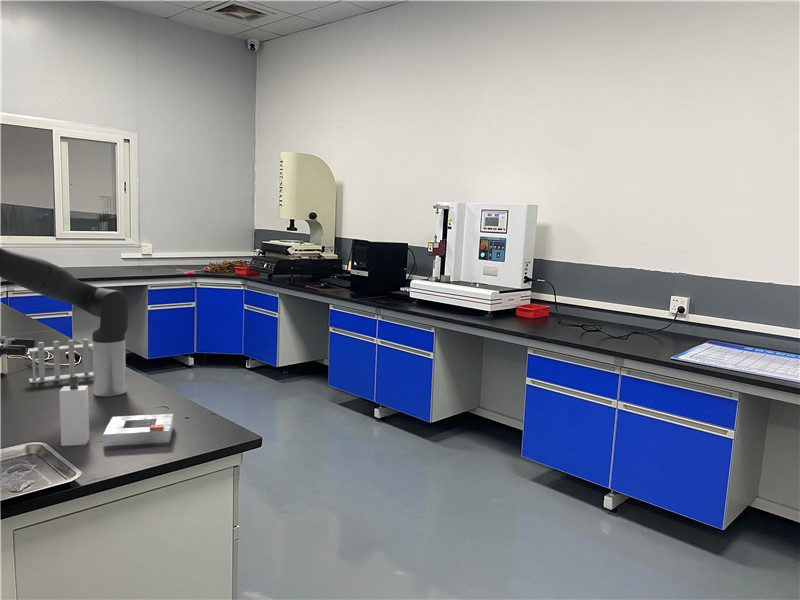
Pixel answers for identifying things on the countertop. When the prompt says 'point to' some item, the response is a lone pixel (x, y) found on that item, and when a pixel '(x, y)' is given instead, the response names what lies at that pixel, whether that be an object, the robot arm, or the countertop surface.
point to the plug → (74, 413)
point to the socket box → (138, 431)
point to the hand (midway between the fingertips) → (30, 347)
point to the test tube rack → (57, 361)
